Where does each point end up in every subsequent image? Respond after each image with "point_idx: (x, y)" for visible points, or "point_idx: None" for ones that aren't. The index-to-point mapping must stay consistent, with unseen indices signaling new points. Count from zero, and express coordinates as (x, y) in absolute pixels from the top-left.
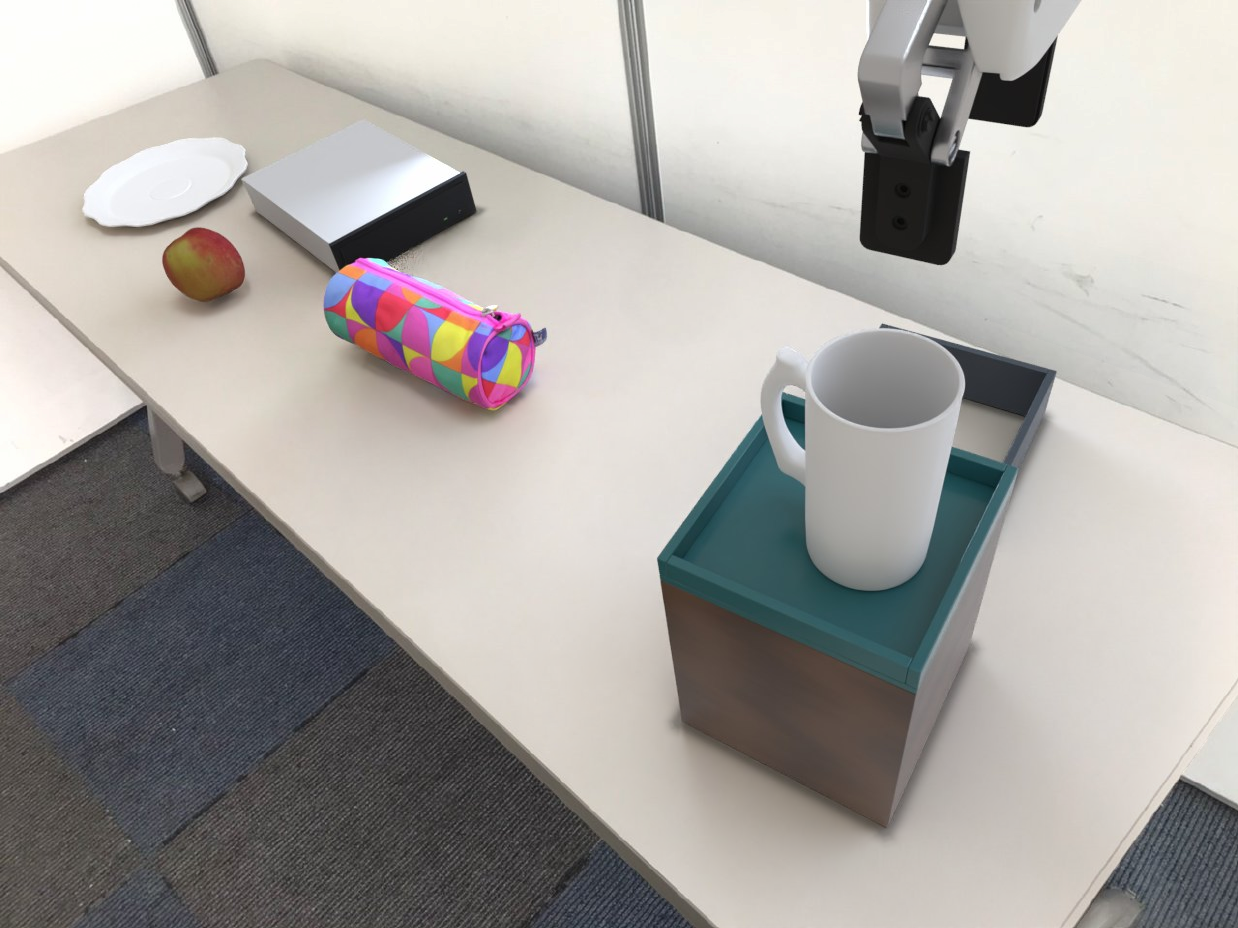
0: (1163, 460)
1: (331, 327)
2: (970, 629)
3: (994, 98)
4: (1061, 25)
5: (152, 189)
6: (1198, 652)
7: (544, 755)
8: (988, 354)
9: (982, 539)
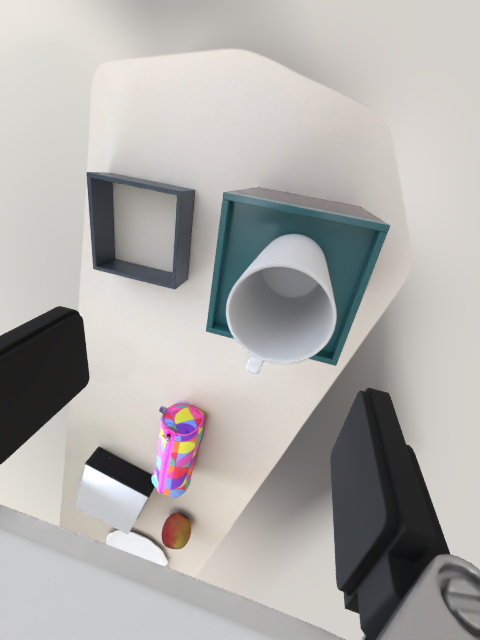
0: (111, 101)
1: (189, 482)
2: (265, 190)
3: (66, 369)
4: (116, 606)
5: (141, 552)
6: (227, 66)
7: (356, 347)
8: (90, 211)
9: (285, 205)
